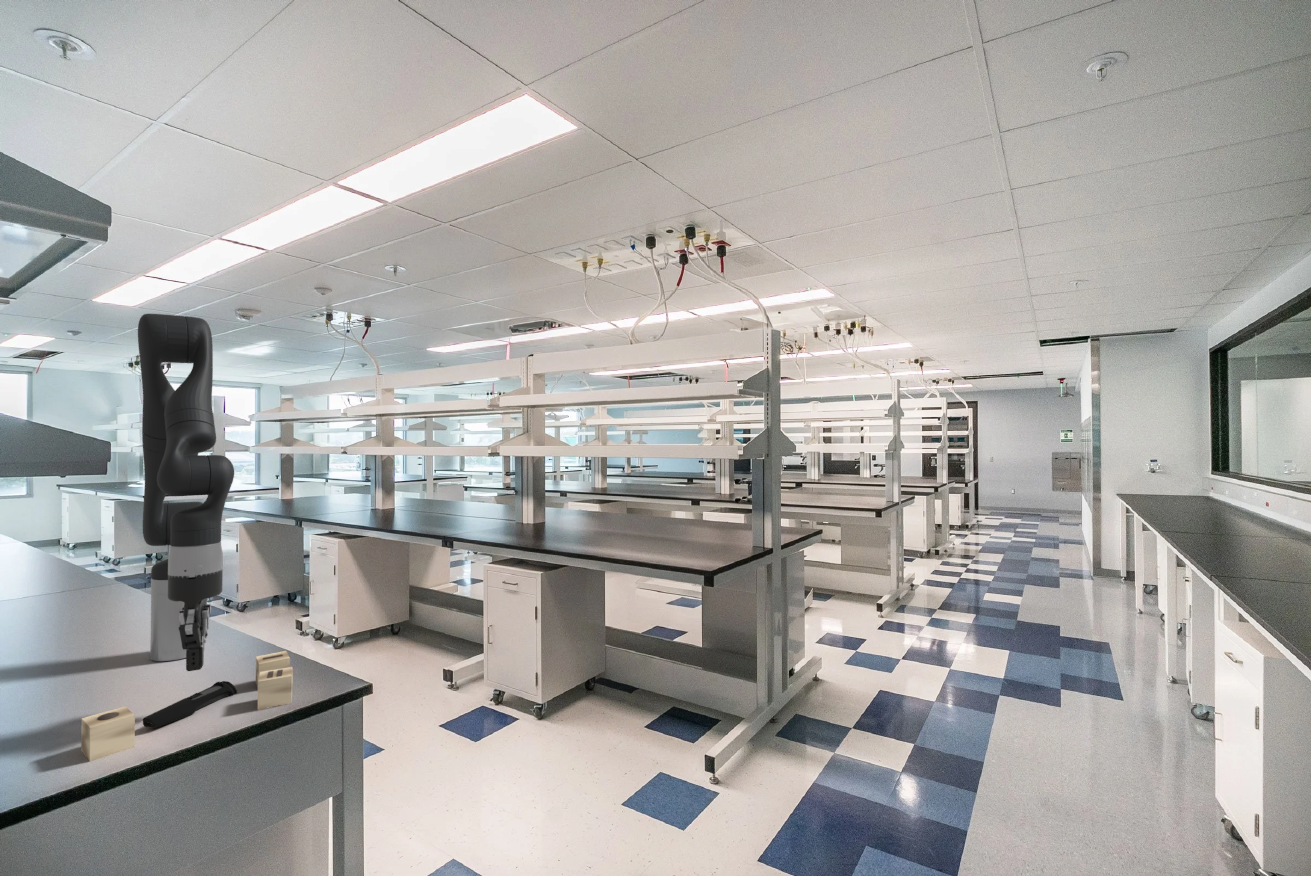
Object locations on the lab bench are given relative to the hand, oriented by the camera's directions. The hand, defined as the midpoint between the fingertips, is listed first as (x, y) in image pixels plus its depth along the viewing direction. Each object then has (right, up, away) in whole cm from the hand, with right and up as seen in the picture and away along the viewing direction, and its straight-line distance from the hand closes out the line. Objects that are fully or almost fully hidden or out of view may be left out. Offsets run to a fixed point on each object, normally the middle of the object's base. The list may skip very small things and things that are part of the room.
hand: (194, 669), depth 102 cm
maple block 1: (-3, -7, -13) cm, 15 cm away
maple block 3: (+12, -7, +3) cm, 14 cm away
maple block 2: (+6, -7, +12) cm, 15 cm away
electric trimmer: (0, -8, 0) cm, 8 cm away
